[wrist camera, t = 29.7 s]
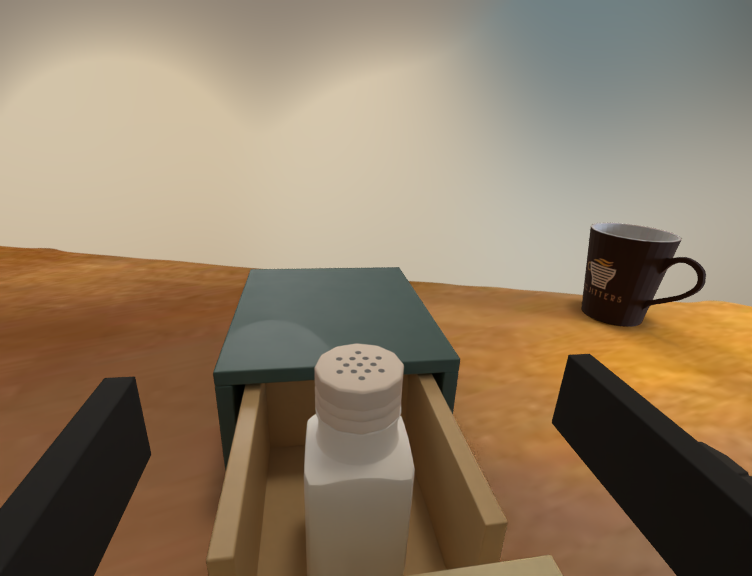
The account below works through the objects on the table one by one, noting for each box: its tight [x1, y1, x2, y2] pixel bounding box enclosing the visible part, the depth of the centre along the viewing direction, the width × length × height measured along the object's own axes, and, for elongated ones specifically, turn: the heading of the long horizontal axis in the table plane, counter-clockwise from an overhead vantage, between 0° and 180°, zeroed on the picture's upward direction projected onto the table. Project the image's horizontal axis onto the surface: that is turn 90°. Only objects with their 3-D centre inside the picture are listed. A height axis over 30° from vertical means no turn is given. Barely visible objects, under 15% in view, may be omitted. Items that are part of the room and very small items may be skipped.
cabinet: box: [213, 267, 460, 471], centre depth 28 cm, size 15×12×9 cm
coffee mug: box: [582, 223, 706, 326], centre depth 45 cm, size 12×9×10 cm
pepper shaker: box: [304, 344, 415, 576], centre depth 16 cm, size 4×4×10 cm
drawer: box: [206, 373, 563, 576], centre depth 15 cm, size 20×11×7 cm, turn 9°
